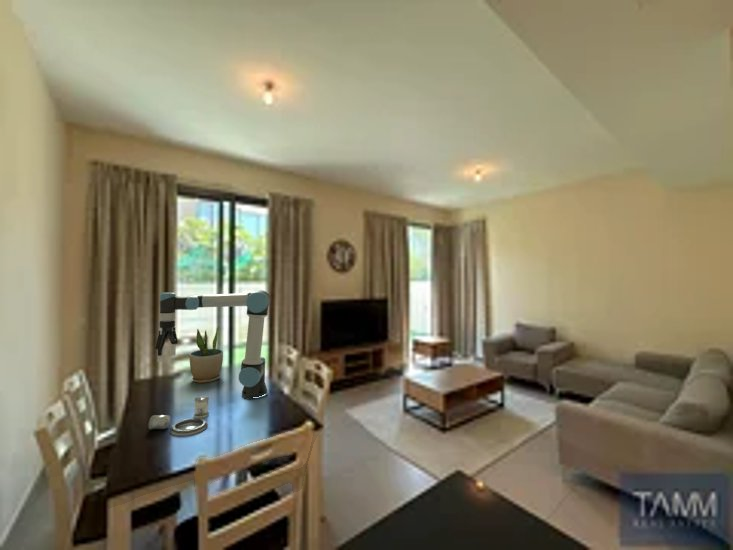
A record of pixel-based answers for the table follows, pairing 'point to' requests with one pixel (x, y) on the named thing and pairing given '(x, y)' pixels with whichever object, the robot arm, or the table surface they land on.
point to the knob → (201, 407)
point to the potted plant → (206, 360)
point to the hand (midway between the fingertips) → (166, 358)
